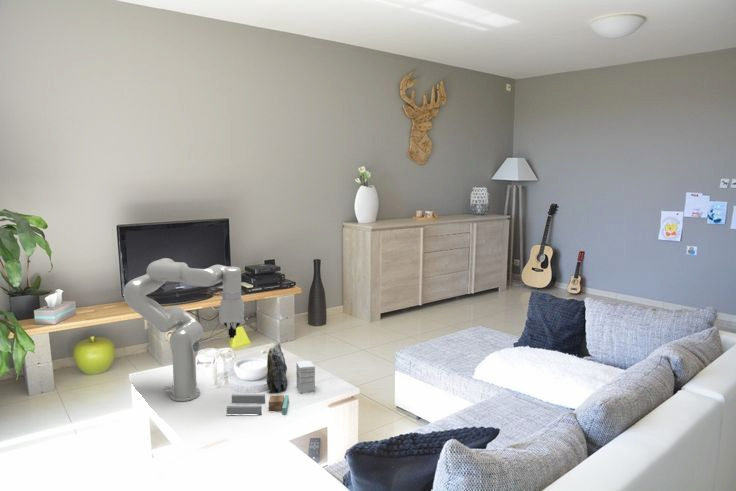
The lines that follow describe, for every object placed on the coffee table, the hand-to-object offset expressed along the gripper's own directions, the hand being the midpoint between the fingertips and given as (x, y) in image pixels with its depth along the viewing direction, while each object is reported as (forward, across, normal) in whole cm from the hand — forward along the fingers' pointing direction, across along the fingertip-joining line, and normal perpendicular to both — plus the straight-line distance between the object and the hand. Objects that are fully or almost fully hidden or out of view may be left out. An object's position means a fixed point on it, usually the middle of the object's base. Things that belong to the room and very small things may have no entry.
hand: (232, 336), depth 223 cm
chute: (+28, +8, -9) cm, 31 cm away
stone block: (+29, +18, +14) cm, 37 cm away
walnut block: (+28, +20, -8) cm, 36 cm away
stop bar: (+28, +24, -9) cm, 38 cm away
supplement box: (+28, +31, +10) cm, 43 cm away
